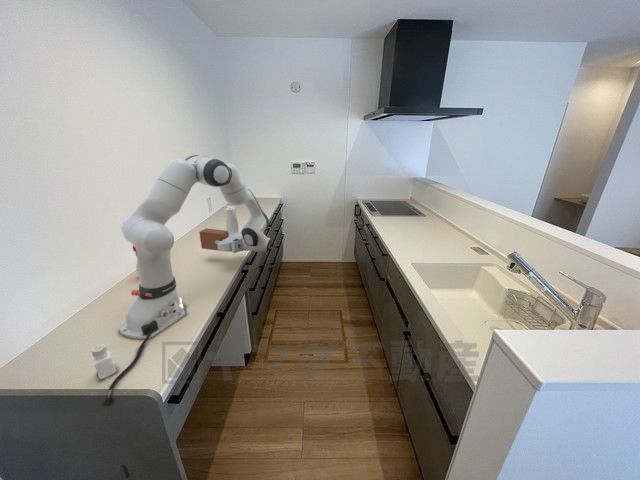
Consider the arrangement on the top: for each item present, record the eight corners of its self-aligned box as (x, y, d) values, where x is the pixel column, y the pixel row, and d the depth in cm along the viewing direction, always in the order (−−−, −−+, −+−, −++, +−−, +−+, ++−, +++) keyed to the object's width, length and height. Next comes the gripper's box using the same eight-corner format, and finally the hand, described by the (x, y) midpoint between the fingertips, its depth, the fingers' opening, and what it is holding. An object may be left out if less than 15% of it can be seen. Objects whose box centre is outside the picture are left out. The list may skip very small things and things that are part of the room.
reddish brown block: (225, 251, 144) (223, 234, 140) (201, 248, 147) (199, 231, 143) (230, 247, 149) (229, 230, 146) (208, 244, 152) (206, 228, 149)
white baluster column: (230, 250, 166) (225, 206, 156) (225, 246, 171) (220, 204, 161) (241, 247, 171) (238, 205, 160) (236, 243, 176) (233, 202, 166)
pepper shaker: (100, 380, 76) (90, 355, 72) (97, 373, 78) (88, 348, 75) (117, 372, 79) (108, 347, 75) (113, 365, 81) (105, 340, 78)
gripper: (250, 230, 151) (229, 228, 154) (232, 243, 132) (207, 240, 135) (251, 240, 153) (230, 238, 156) (233, 254, 135) (209, 251, 137)
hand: (219, 239), depth 146 cm, fingers closed on reddish brown block, 6 cm apart
